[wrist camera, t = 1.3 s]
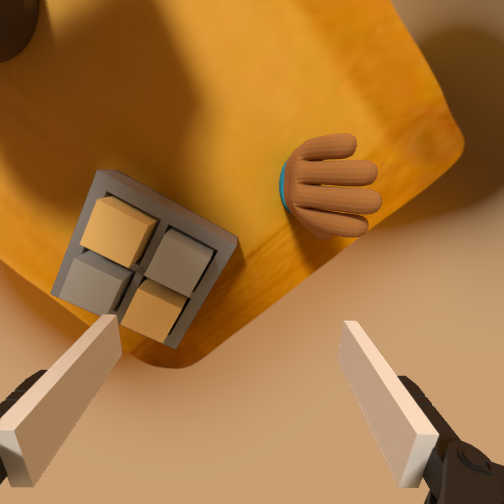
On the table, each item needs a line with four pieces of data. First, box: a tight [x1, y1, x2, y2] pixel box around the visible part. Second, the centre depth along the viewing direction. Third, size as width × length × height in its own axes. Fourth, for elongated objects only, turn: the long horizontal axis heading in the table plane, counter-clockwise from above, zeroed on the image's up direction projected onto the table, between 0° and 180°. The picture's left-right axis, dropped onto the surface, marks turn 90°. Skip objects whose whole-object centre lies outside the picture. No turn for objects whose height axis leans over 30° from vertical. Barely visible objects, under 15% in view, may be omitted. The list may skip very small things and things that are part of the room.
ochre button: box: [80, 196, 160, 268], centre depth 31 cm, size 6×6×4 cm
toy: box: [279, 133, 382, 240], centre depth 28 cm, size 12×7×15 cm, turn 0°
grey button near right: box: [144, 227, 214, 297], centre depth 32 cm, size 6×6×4 cm
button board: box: [50, 170, 238, 349], centre depth 35 cm, size 18×18×4 cm
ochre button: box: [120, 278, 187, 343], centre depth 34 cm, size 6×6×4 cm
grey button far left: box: [59, 250, 135, 316], centre depth 33 cm, size 6×6×4 cm
